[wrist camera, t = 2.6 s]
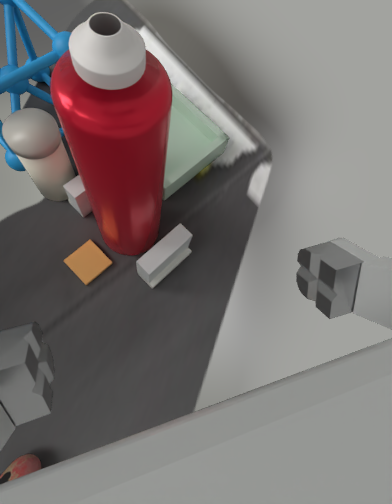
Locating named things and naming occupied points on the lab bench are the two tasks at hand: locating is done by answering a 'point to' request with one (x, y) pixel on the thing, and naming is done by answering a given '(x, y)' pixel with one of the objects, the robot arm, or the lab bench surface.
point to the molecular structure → (27, 63)
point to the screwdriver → (21, 468)
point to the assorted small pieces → (71, 187)
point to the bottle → (116, 127)
